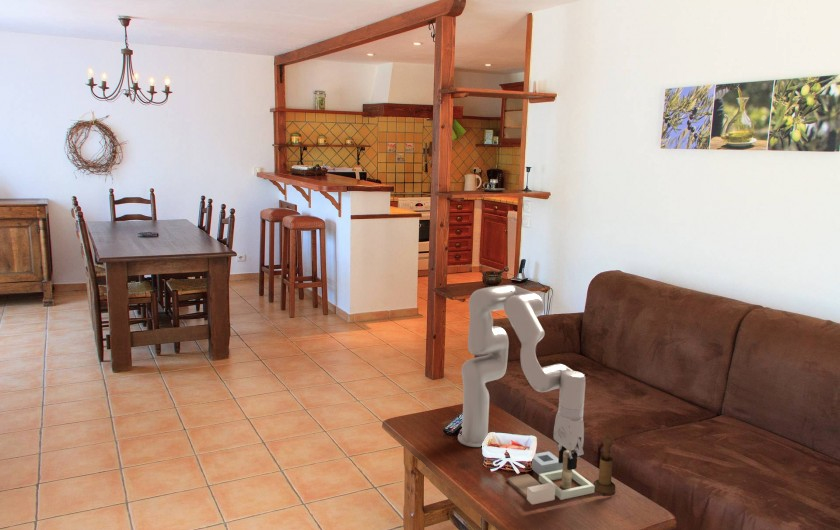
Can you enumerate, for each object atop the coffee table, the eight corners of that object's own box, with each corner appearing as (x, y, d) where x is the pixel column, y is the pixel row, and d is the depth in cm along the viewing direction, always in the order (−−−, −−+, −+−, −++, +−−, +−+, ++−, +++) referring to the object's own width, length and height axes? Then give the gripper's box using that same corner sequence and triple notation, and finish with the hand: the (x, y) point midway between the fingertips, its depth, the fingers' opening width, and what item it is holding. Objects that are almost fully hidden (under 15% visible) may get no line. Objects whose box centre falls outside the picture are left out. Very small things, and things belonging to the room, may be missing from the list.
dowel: (559, 486, 204) (561, 451, 201) (567, 484, 205) (569, 449, 202) (564, 490, 201) (567, 455, 199) (572, 489, 202) (575, 453, 200)
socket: (528, 468, 216) (528, 454, 215) (548, 464, 219) (549, 451, 218) (541, 479, 209) (542, 465, 208) (561, 475, 212) (562, 461, 211)
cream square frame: (538, 483, 206) (539, 474, 206) (570, 477, 211) (571, 467, 210) (560, 502, 195) (561, 492, 194) (594, 495, 199) (594, 485, 199)
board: (506, 485, 205) (507, 478, 205) (527, 480, 209) (528, 473, 208) (527, 503, 195) (527, 496, 194) (549, 498, 198) (549, 491, 197)
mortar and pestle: (599, 497, 199) (603, 443, 196) (589, 486, 205) (593, 434, 202) (618, 495, 200) (623, 441, 197) (608, 485, 206) (612, 432, 203)
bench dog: (526, 502, 194) (527, 487, 194) (548, 497, 197) (549, 482, 197) (531, 507, 192) (532, 492, 191) (554, 502, 195) (555, 487, 194)
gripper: (545, 402, 205) (542, 456, 208) (577, 422, 189) (573, 480, 192) (565, 399, 207) (561, 452, 210) (597, 419, 192) (593, 476, 195)
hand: (567, 465), depth 201 cm, fingers open, 4 cm apart
